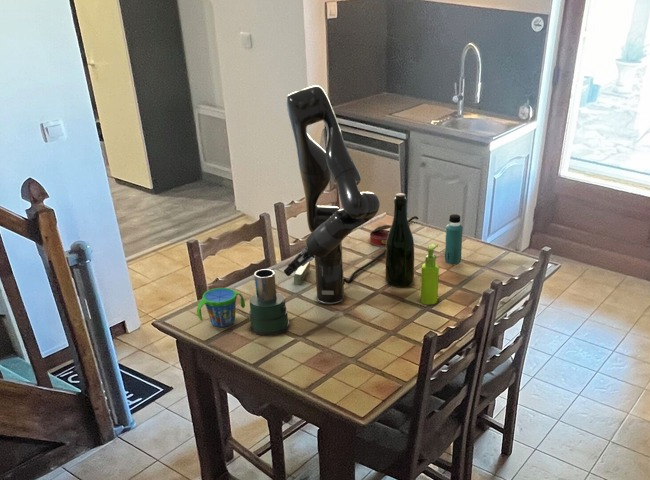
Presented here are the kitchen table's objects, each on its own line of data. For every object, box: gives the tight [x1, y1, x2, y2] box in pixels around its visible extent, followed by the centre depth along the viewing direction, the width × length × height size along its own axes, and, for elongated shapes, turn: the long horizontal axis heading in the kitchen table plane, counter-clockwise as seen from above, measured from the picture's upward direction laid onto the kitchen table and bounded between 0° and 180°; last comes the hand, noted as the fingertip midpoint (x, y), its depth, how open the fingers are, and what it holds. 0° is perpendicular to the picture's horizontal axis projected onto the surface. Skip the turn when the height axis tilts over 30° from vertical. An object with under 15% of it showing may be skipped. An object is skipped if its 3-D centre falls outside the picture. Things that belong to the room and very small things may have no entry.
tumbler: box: [253, 268, 277, 303], centre depth 214 cm, size 6×6×9 cm
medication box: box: [293, 261, 311, 286], centre depth 251 cm, size 12×3×4 cm, turn 172°
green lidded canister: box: [248, 291, 290, 337], centre depth 219 cm, size 12×12×10 cm
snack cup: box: [196, 287, 246, 328], centre depth 220 cm, size 16×10×10 cm
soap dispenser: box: [420, 243, 440, 306], centre depth 234 cm, size 6×7×20 cm
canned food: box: [369, 224, 391, 247], centre depth 281 cm, size 11×10×10 cm
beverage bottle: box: [444, 213, 464, 265], centre depth 259 cm, size 6×7×20 cm
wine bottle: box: [384, 192, 415, 288], centre depth 242 cm, size 10×10×33 cm
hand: (293, 267), depth 206 cm, fingers open, 8 cm apart
